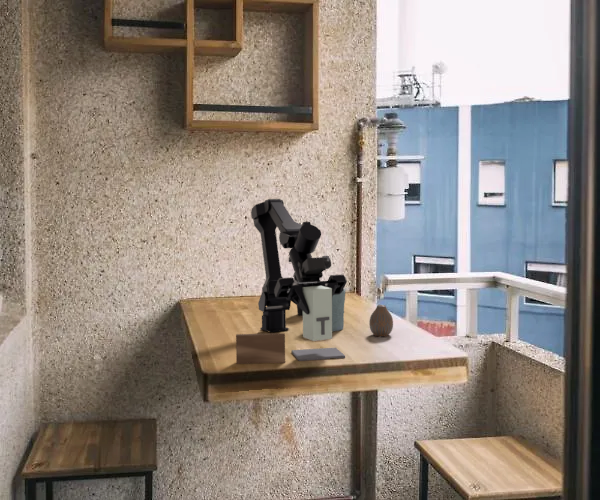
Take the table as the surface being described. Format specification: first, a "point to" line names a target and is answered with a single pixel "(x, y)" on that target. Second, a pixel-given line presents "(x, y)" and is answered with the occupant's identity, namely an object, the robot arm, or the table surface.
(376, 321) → the vase
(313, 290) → the pale green block
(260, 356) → the walnut screen
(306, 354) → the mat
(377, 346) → the table surface
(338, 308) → the blue-grey pot
